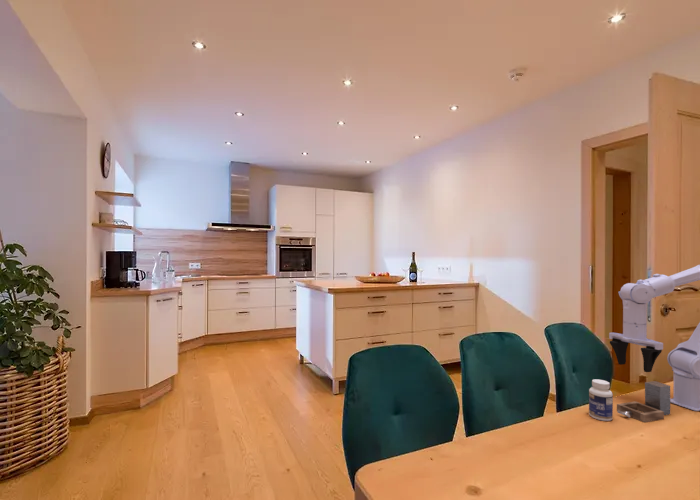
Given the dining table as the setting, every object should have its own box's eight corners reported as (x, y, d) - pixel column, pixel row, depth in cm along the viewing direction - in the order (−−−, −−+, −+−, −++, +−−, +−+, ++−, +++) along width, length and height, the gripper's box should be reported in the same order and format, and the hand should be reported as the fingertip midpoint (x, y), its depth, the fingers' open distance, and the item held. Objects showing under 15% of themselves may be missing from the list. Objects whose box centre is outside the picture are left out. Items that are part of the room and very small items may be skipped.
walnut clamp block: (635, 408, 108) (635, 401, 108) (663, 419, 100) (663, 411, 100) (610, 412, 105) (610, 405, 105) (637, 423, 97) (637, 416, 98)
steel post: (654, 408, 107) (654, 381, 108) (670, 414, 104) (670, 385, 104) (644, 410, 106) (644, 382, 106) (660, 416, 102) (660, 387, 103)
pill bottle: (584, 415, 103) (584, 379, 103) (596, 411, 105) (596, 377, 105) (604, 423, 98) (605, 386, 98) (617, 419, 100) (617, 383, 100)
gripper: (602, 319, 118) (601, 361, 118) (651, 328, 104) (650, 376, 104) (618, 318, 120) (618, 360, 120) (668, 327, 106) (668, 374, 106)
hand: (634, 367), depth 112 cm, fingers open, 7 cm apart
